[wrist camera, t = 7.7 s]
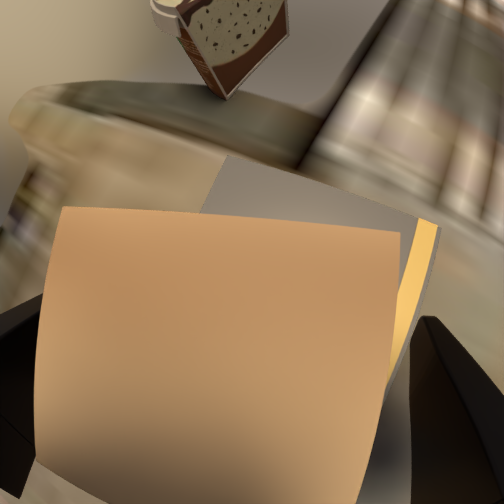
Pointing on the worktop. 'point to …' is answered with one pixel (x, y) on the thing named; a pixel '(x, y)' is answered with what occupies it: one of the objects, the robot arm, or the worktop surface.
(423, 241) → the plate
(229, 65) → the food container
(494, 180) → the worktop surface
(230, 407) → the tan piece
